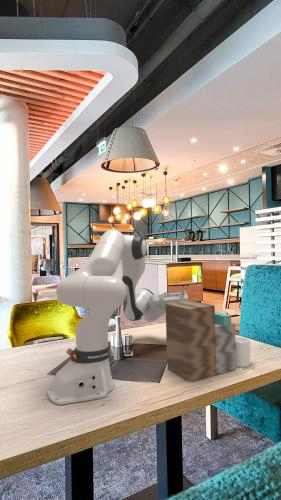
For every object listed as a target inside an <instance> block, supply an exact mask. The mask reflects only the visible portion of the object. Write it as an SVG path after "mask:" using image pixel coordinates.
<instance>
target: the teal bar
mask: <svg viewBox="0 0 281 500" xmlns="http://www.w3.org/2000/svg"><path fill="white" fill-rule="evenodd" d="M215 323H217V324H220V325H224V326H225V325H231V323H232V315H231V314H228V313H227V314H226V313H223V312H219V311H215Z"/></svg>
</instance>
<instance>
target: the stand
mask: <svg viewBox="0 0 281 500" xmlns="http://www.w3.org/2000/svg"><path fill="white" fill-rule="evenodd" d="M215 307H216V306H215V305H214V304H209V303H204V302H198V301H194V300H187V301H182V302H174V303H166V313H165V330H166V331H165V334H166V335H165V336H166V337H165V338H166V368H167V370H168V371H170V372H171V373H173V374H175V375H177V376H178V377H180V378H182V379H183V380H185V381H187V382H188V383H193V382H197V381H201V380H204V379H208V378H209V379H210V378H213V377H215V376H219V375H222V374H226V373H231V372H233V371H236V370H237V366H236V342H235V337H236V323H235V322H231V325H225V326H224V325H220V324H217V323H215V312H216V310H215Z"/></svg>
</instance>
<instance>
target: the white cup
mask: <svg viewBox="0 0 281 500" xmlns="http://www.w3.org/2000/svg"><path fill="white" fill-rule="evenodd" d="M235 342H236V367H238V368H239V367H240V368H248V367H249V366H250V365H251V364H250V363H251V362H250V361H251V359H250V358H251V339H250V338H247V337H242V336H235Z"/></svg>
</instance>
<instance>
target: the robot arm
mask: <svg viewBox="0 0 281 500" xmlns="http://www.w3.org/2000/svg"><path fill="white" fill-rule="evenodd" d="M147 251H148V244H147V240H146V239H145V237H144V236H143V235H138V234H135V235H133V234H123V233H122V232H121V231H119V230H116V229H108V230H106V231H105V232H104V233H103V234H102V235H101V237H100V238H99V239H98V240H97V242H96V244H95V246H94V248H93V250H92V252H91V254H90V255H89V258H88V260H86V261H85V263H83V265H82V266H80V267H79V268H78V269H77V270H76V271H74V272H73V273H71V274H69V275H68V276H65V277H62V278H61V279H60V280H59V282H58V283H57V285H56V289H55V291H56V292H55V295H56V298H57V299H58V301H59V303H61V305H65V306H70V307H73V308H74V307H75V308H76V307H77V308H88V309H89V311H88V315H87V316H86V317H84V318H82V319H81V320H80V321H79V322H78V323H77V324H76V327H75V348H74V349H72V348H68V349H67V350H66V354H67V355H68V356H70V360H69V361H68V362H67V363H66V364H65V365H64V366H62V367H61V368H60V369H59V370H57V372H56V374H55V376H54V382H53V385H51V386H49V387H48V388H47V390H46V391H47V393H46V394H47V395H46V396H47V397H48V399H49V401H51V402H52V403H53V404H55V405H57V406H58V405H60V406H61V405H68V404H74V403H80V402H81V403H82V402H85V401H86V402H87V401H92V400H99V399H104V398H106V397H107V396H108V393H109V392H112V390H113V389H114V388H115V384H114V380H113V378H112V372H111V365H110V361H111V351H110V345H109V325H110V320H111V317H112V315H113V313H114V312H115V311H116V310H117V309H118V308H119V307H120V306H121V305H123V308H122V310H123V315H124V316H125V318H126V319H127V320H128V321H131V322H133V321H134V322H136V321H137V322H138V321H140V320H141V318H143V319H144V320H145V321H146V322H150V323H153V322H156V321H158V320H159V319H160V318H162V317H163V316H164V315H166V303H174V302H182V301H189V296H188V293H187V292H186V290H183V289H182V290H181V291H180V292H173V293H169V291H164V292H163V293H159V294H154V292H152V291H151V290H150V289H148V288H144V287H143V288H138V289H137V291H136V288H137V285H138V283H139V281H140V279H141V277H142V276H143V275H144V272H145V269H146V260H145V259H146V258H145V257H146V254H147ZM120 261H121V266H122V267H121V268H122V277H121V278H119V277H117V276H116V277H115V276H113V275H114V274H115V273H116V271H117V269H118V268H119V267H118V266H119V264H120Z"/></svg>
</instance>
